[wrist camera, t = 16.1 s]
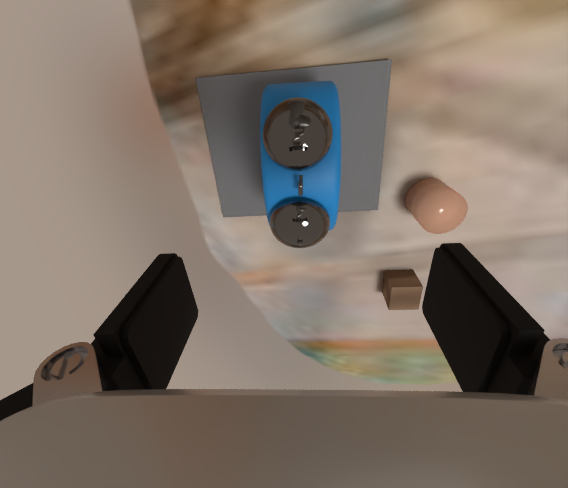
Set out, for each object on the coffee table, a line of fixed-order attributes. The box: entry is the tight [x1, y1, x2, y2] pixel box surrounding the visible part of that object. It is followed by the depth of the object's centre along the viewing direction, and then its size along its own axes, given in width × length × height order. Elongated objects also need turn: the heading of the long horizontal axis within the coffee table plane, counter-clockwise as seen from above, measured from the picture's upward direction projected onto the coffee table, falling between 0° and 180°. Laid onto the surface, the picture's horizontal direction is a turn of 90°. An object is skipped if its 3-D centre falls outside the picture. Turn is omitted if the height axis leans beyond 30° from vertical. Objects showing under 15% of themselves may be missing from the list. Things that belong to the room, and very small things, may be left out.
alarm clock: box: [260, 81, 341, 248], centre depth 26 cm, size 13×6×15 cm, turn 3°
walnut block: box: [382, 270, 423, 310], centre depth 40 cm, size 4×4×4 cm
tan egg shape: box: [405, 178, 467, 234], centre depth 33 cm, size 5×5×5 cm
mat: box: [196, 60, 392, 217], centre depth 33 cm, size 16×20×1 cm
